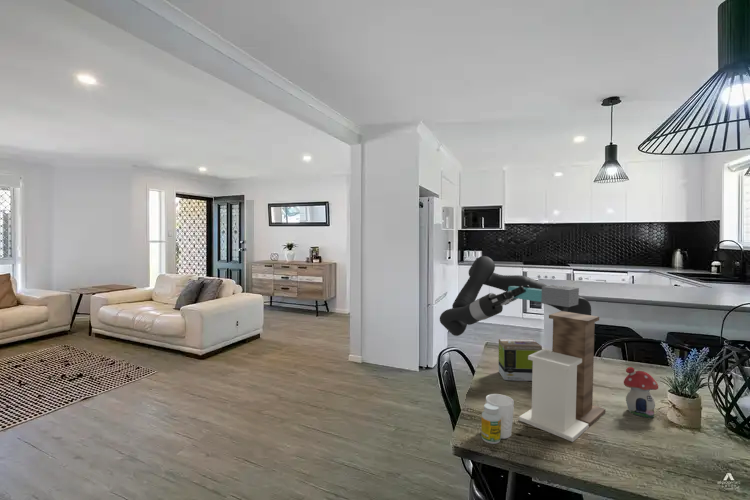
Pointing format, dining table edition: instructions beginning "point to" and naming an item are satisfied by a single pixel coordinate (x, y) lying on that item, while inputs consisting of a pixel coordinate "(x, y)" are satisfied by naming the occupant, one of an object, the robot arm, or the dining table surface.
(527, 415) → the low cream stand
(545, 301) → the bar
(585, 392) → the tall walnut stand
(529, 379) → the tea box
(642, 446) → the dining table surface
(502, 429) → the white cup
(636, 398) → the decorative ornament
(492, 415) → the supplement bottle
